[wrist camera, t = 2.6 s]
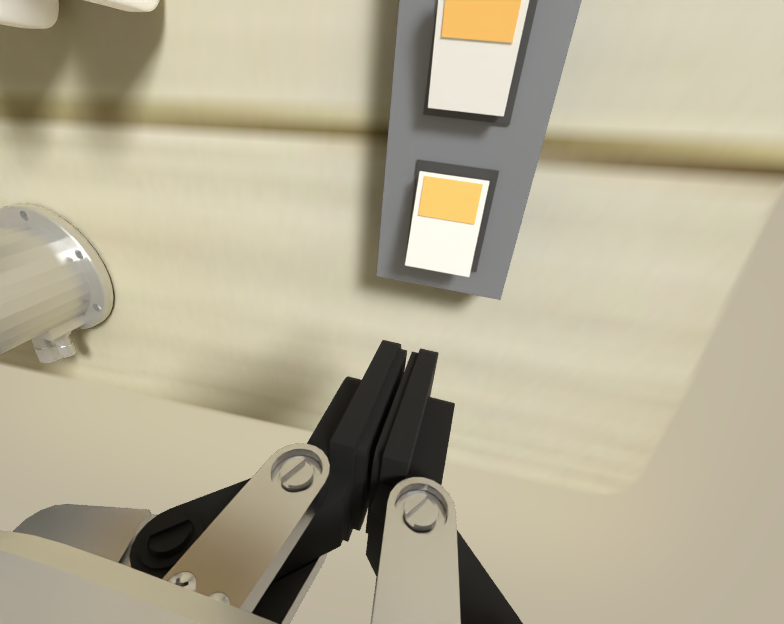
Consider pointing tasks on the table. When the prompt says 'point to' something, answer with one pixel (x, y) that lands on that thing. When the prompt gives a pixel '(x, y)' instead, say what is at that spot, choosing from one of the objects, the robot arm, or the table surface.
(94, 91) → the table surface
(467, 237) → the plate
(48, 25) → the cable organizer
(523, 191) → the power strip
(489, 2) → the middle rocker
